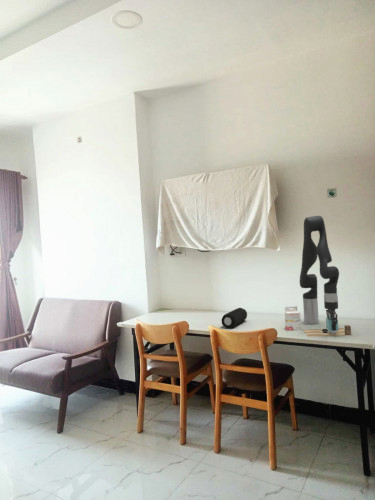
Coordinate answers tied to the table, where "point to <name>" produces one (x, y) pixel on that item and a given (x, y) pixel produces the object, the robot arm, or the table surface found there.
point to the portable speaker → (234, 317)
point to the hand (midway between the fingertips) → (332, 328)
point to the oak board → (319, 333)
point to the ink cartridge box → (292, 319)
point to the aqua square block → (330, 325)
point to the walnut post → (347, 329)
